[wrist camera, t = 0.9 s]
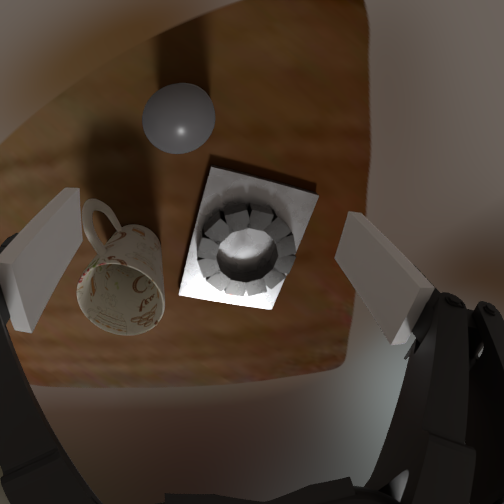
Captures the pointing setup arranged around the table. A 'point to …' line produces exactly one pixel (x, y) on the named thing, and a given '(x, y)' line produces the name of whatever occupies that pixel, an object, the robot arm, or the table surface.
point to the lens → (178, 118)
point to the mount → (244, 238)
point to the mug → (122, 277)
